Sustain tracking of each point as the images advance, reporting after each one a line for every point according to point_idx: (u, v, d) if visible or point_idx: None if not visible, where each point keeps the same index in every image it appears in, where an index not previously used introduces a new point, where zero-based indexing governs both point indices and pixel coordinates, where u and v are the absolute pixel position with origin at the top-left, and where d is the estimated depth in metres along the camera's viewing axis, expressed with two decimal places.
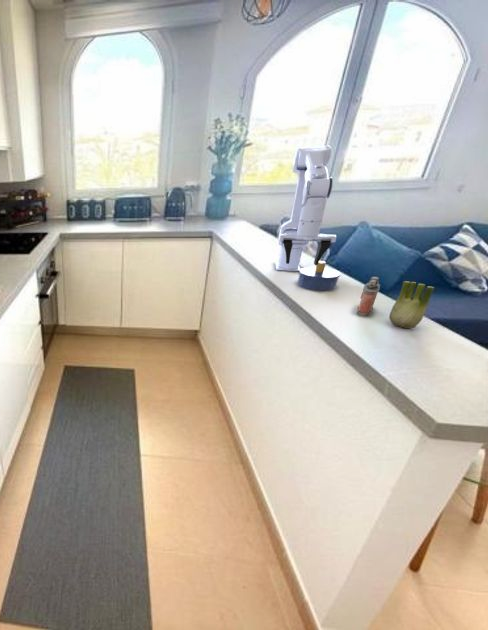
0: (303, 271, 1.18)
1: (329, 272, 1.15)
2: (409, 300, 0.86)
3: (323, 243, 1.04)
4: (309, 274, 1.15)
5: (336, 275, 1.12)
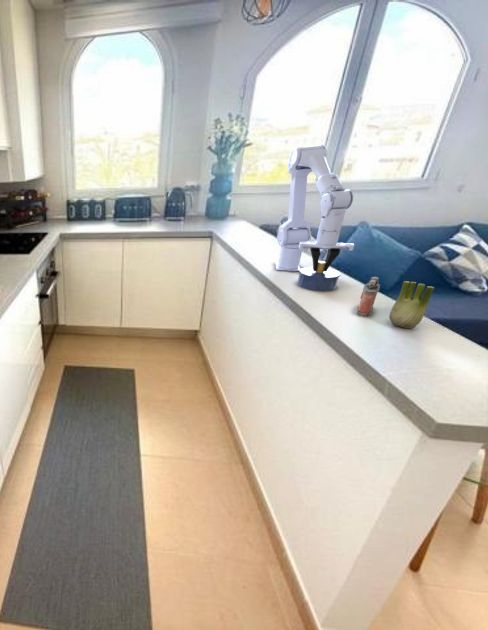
0: (303, 271, 1.18)
1: (329, 272, 1.15)
2: (409, 300, 0.86)
3: (332, 251, 1.11)
4: (309, 274, 1.15)
5: (336, 275, 1.12)
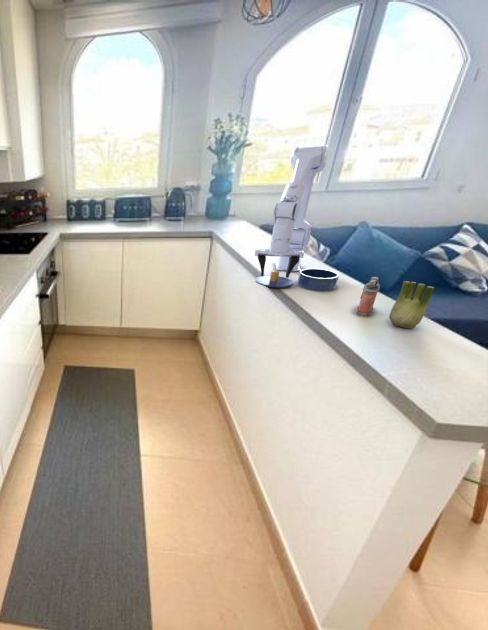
0: (259, 280, 1.24)
1: (283, 281, 1.21)
2: (409, 300, 0.86)
3: (292, 258, 1.16)
4: (263, 283, 1.21)
5: (288, 284, 1.19)
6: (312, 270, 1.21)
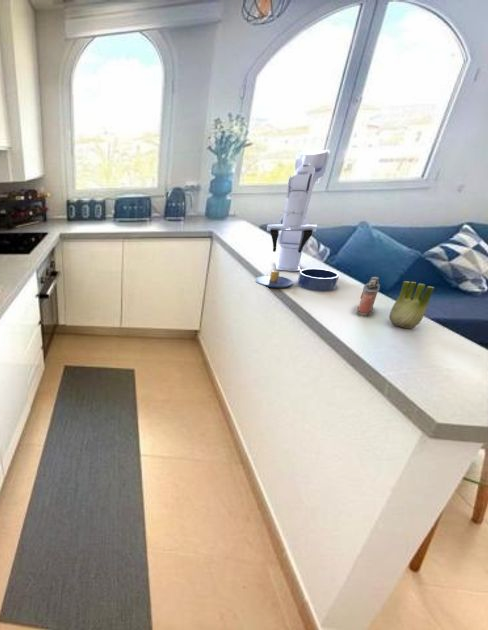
0: (259, 280, 1.24)
1: (283, 281, 1.21)
2: (409, 300, 0.86)
3: (305, 232, 1.16)
4: (263, 283, 1.21)
5: (288, 284, 1.19)
6: (312, 270, 1.21)
